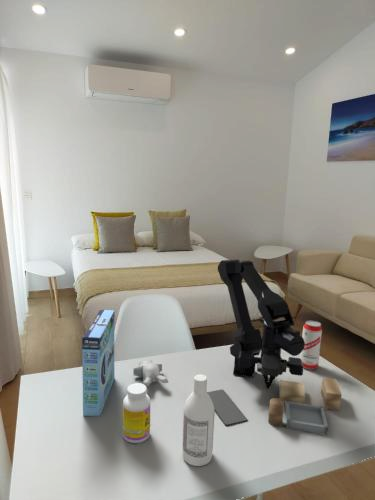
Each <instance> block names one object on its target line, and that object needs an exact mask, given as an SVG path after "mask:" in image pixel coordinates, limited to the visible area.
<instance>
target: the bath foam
mask: <svg viewBox="0 0 375 500" xmlns="http://www.w3.org/2000/svg"><path fill="white" fill-rule="evenodd" d="M207 388H208V377H207V376H206V375H205V374H196V375H195V376H193V391H192V392H191V394H190V395H189V396H188V397H187V399H186V402H185V403H184V406H183V407H184V408H183V422H182V423H183V426H182V427H183V428H182V457H183V460H184V461H185V462H186V463H187V464H189V465H190V466H194V467H202V466H206V465H208V464H209V463H210V462H211V460H212V459H213V450H214V449H213V447H214V432H215V430H214V429H215V414H216V413H215V411H214V405H213V402H212V400H211V398H210V396H209V395H208V393H207V392H208V391H207V390H208V389H207Z"/></svg>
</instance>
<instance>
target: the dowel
mask: <svg viewBox="0 0 375 500" xmlns="http://www.w3.org/2000/svg"><path fill="white" fill-rule="evenodd" d="M284 408H285V401H282V400H280V399H279V398H277V397H275V398H274V397H273V398H271V399H270V400H269V409H268V410H269V411H268V420H267V421H268V424H269V425H270V426H272V427H275V428H279V427H282V426H283V418H284Z"/></svg>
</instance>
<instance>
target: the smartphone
mask: <svg viewBox="0 0 375 500" xmlns="http://www.w3.org/2000/svg"><path fill="white" fill-rule="evenodd" d="M206 392H207V393H208V395H209V396H210V398H211V400H212V402H213V405H214V412H215V414H216V415H217V417H218V418H219V420H220V421H221V423H222V424H223V425H224V426H225V427H230V426H234V425H240V424H242V423H246V422H248V421H249V420H248V418H247V417H246V415H245V414H244V413H243V412H242V411H241V410H240V408H239V406H238V405H237V404H236V403H235V402H234V401H233V400H232V398H231V397H230V395H228V393H227V392H226V391H225V390H224V389H223V388H221V389H217V390H213V391H211V390H210V391H206Z"/></svg>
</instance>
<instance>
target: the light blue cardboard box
mask: <svg viewBox="0 0 375 500" xmlns="http://www.w3.org/2000/svg"><path fill="white" fill-rule="evenodd" d="M115 312H116V311H115V310H113V309H112V310H111V309H99V310H98V313H97V314H96V315H95V317H94V319H93V320H92V321H91V323H90V325H89V326H88V327H87V329H86V331H85V333H84V334H83V335H82V337H81V342H82V343H81V344H82V347H81V349H82V352H81V353H82V356H81V357H82V362H81V363H82V416H83V417H101V415H102V412H103V410H104V408H105V404H106V402H107V399H108V396H109V394H110V391H111V388H112V385H113V383H114V381H115V377H116V375H115Z"/></svg>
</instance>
